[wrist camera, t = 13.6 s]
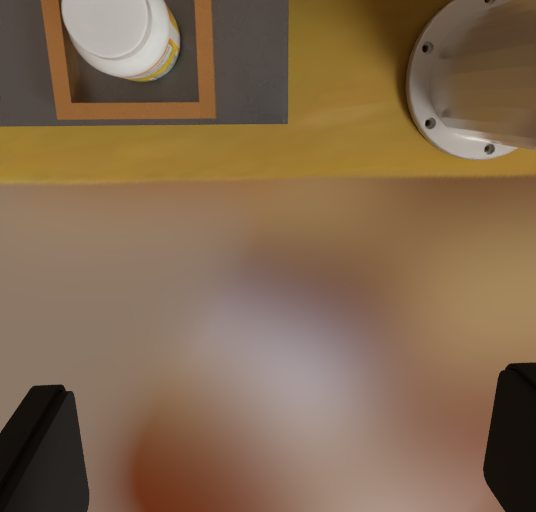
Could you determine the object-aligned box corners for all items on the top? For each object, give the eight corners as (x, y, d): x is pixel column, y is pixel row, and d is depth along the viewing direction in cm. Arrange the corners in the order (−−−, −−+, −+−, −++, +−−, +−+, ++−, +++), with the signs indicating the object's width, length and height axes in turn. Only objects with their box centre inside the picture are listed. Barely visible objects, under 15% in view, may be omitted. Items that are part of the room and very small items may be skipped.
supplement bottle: (179, 86, 33) (160, 80, 24) (98, 77, 32) (47, 68, 23) (183, -2, 31) (164, -44, 22) (98, -13, 30) (42, -61, 21)
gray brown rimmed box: (282, -38, 34) (293, -68, 28) (281, 121, 38) (291, 125, 32) (-53, -43, 33) (-118, -76, 27) (-22, 123, 36) (-73, 129, 30)
